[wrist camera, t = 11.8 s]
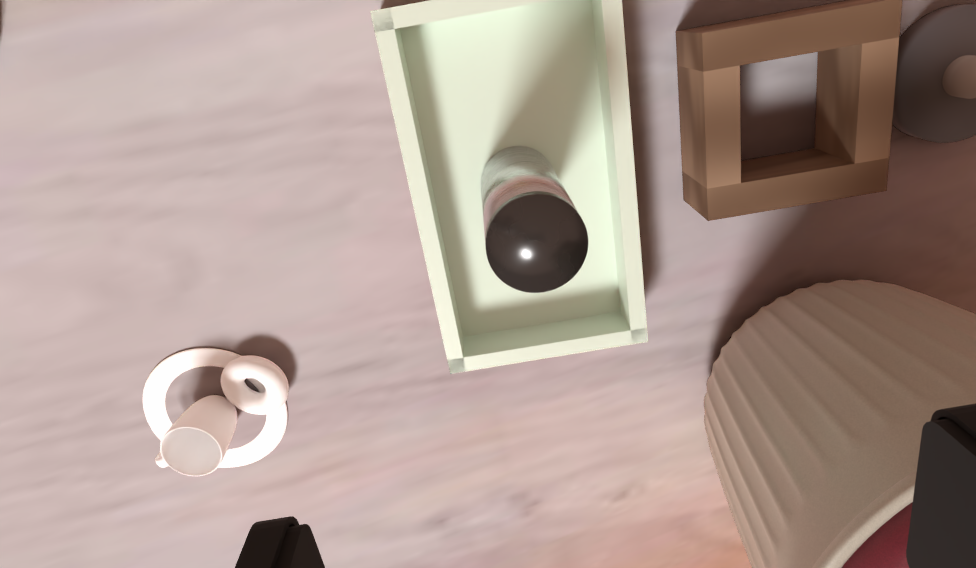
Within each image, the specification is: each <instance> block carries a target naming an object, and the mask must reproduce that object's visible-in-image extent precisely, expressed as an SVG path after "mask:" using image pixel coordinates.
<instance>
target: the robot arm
mask: <svg viewBox="0 0 976 568" xmlns="http://www.w3.org/2000/svg"><path fill="white" fill-rule="evenodd" d="M906 558H907V563H908V565H909V568H976V403H975V404H969V405H963V406H957V407H951V408H945V409H940V410H937V411H935V412H934V413H933V415H932V417H931V421H929V422H926V423H925V424H924V425H923V429H922V435H921V442H920V450H919V457H918V465H917V473H916V480H915V488H914V496H913V503H912V511H911V518H910V526H909V534H908V541H907V549H906ZM235 568H325V566H324V564H323V561H322V558H321V555H320V553H319V550H318V547H317V544H316V542H315V539H314V536H313V534H312V531H311V529H310V527H309V526H308V525H307V524H303V525H299V523H298V521H297V519H295V518H294V517H285V518H278V519H272V520H266V521H260V522H256V523H255V524H253V525H252V527H251V529H250V531H249V533H248V536H247V538H246V541H245V544H244V546H243V549H242V551H241V554H240V556H239V559H238V561H237V564H236V566H235Z"/></svg>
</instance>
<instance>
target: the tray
mask: <svg viewBox="0 0 976 568" xmlns="http://www.w3.org/2000/svg"><path fill="white" fill-rule="evenodd" d="M370 13H371V17H372V22H373V26H374V31H375V35H376V40H377V44H378V49H379V53H380V58H381V62H382V67H383V71H384V76H385V80H386V85H387V90H388V94H389V99H390V103H391V108H392V112H393V117H394V121H395V126H396V130H397V135H398V139H399V144H400V148H401V153H402V157H403V162H404V166H405V171H406V175H407V180H408V184H409V189H410V193H411V198H412V203H413V207H414V212H415V216H416V221H417V225H418V230H419V234H420V239H421V243H422V248H423V252H424V257H425V261H426V266H427V270H428V275H429V279H430V284H431V288H432V293H433V297H434V302H435V306H436V311H437V316H438V320H439V325H440V329H441V334H442V338H443V343H444V347H445V352H446V356H447V361H448V365H449V370H450V374H452V373H459V372H465V371H471V370H477V369H483V368H489V367H496V366H502V365H508V364H514V363H520V362H526V361H533V360H539V359H545V358H551V357H557V356H563V355H570V354H576V353H582V352H588V351H594V350H600V349H607V348H613V347H619V346H625V345H631V344H637V343H644V342H648V335H647V322H646V309H645V296H644V283H643V270H642V257H641V244H640V231H639V218H638V205H637V192H636V179H635V165H634V152H633V139H632V126H631V113H630V100H629V87H628V74H627V61H626V48H625V35H624V22H623V9H622V0H429V1H423V2H418V3H413V4H407V5H402V6H396V7H391V8H385V9H380V10H374V11H370ZM511 146H526V147H530V148H533V149H535V150H537V151H539V152H540V153H542V154H543V155H544V156H545V157H546V158H547V159H548V161H549V162H550V164H551V165H552V167H553V169H554V171H555V172H556V174H557V176H558V178H559V179H560V181H561V183H562V185H563V187H564V188H565V190H566V192H567V194H568V195H569V197H570V199H571V201H572V202H573V204H574V206H575V208H576V209H577V211H578V213H579V215H580V216H581V218H582V220H583V222H584V224H585V226H586V229H587V234H588V251H587V255H586V258H585V261H584V263H583V265H582V267H581V268H580V270H579V271H578V273H577V274H576V275H575V276H574V277H573V278H572V279H571V280H570V281H568V282H567V283H566V284H564V285H563V286H561V287H559V288H557V289H554V290H551V291H547V292H541V293H528V292H523V291H519V290H516V289H514V288H512V287H510V286H508V285H506V284H505V283H504V282H502V281H501V280H500V279H499V278H498V277H497V276H496V274H495V273H494V272H493V270H492V268H491V267H490V264H489V262H488V259H487V255H486V246H485V234H484V222H483V210H482V198H481V185H480V183H481V175H482V172H483V169H484V167H485V165H486V163H487V162H488V161H489V159H490V158H491V157H492V156H493V155H494V154H496V153H497V152H499V151H500V150H502V149H505V148H507V147H511Z"/></svg>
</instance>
